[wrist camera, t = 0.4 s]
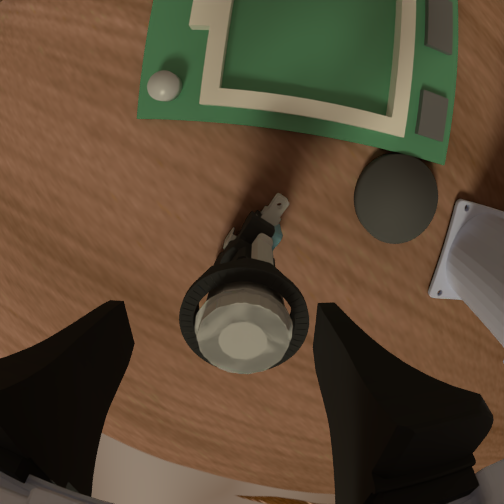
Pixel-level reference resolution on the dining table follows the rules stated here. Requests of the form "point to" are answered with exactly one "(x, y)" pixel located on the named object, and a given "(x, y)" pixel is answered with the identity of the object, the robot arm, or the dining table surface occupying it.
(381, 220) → the dark gray round disc
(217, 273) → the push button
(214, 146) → the dining table surface
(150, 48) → the circuit board
